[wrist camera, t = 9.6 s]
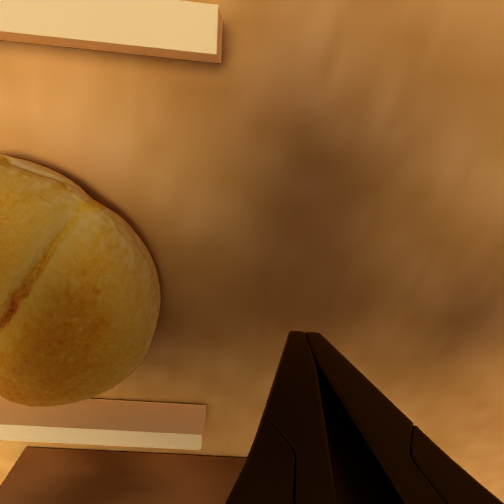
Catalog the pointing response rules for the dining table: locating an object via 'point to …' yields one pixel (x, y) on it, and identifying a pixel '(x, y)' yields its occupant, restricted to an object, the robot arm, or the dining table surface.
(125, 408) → the serving bay
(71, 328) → the bread roll
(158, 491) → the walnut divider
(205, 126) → the dining table surface
